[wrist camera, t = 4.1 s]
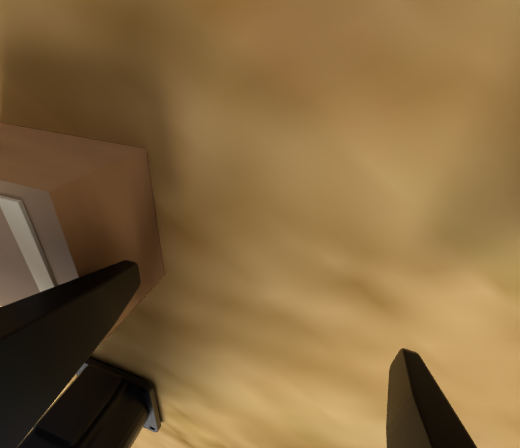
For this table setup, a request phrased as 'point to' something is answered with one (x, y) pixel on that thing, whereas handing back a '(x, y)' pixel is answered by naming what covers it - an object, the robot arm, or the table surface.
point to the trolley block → (73, 212)
